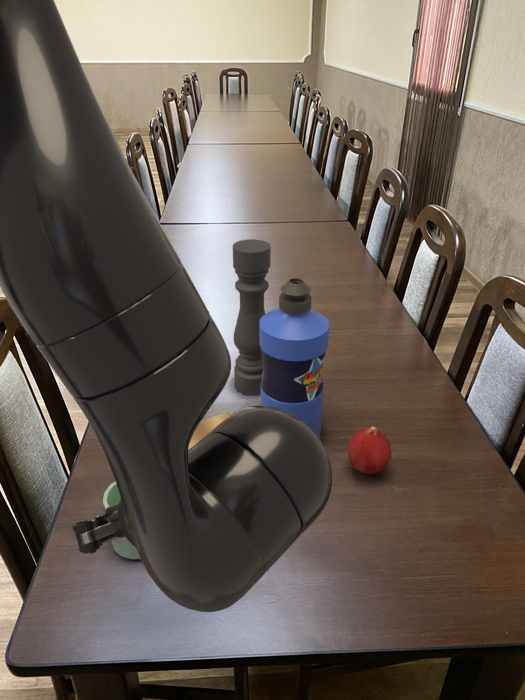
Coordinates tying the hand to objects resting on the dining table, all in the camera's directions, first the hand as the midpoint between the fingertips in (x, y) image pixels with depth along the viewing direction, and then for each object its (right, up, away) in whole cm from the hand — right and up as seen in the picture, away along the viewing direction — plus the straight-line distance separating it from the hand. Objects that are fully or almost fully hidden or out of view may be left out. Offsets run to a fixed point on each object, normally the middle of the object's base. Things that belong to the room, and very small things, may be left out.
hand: (143, 510), depth 57 cm
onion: (+27, 0, +18) cm, 32 cm away
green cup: (-2, -6, +8) cm, 10 cm away
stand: (+5, 0, +17) cm, 18 cm away
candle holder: (+11, +11, +36) cm, 39 cm away
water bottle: (+17, +4, +25) cm, 30 cm away
